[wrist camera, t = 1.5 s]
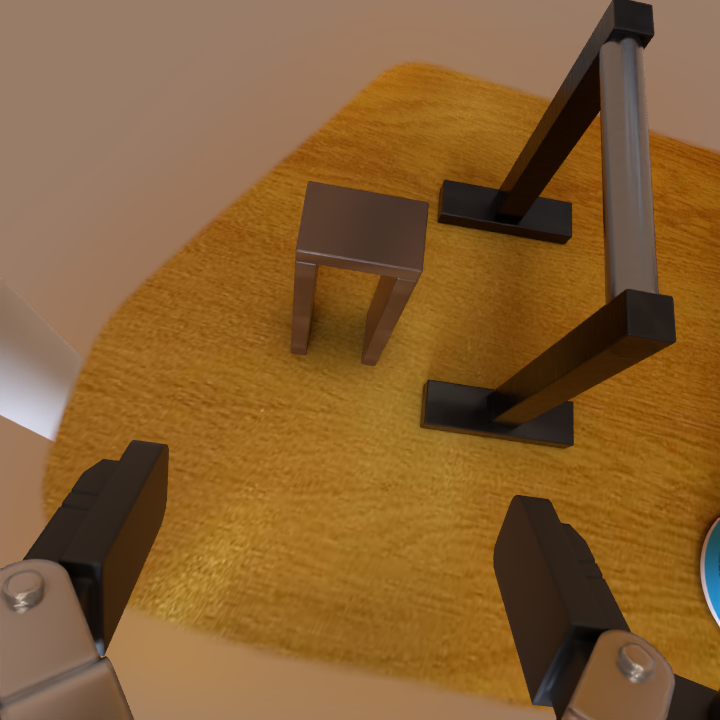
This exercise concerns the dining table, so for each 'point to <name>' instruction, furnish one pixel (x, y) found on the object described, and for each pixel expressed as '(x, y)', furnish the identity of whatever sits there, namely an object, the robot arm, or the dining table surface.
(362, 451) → the dining table surface
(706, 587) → the beverage bottle
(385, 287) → the two-legged arch bridge
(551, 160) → the rack
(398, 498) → the dining table surface
